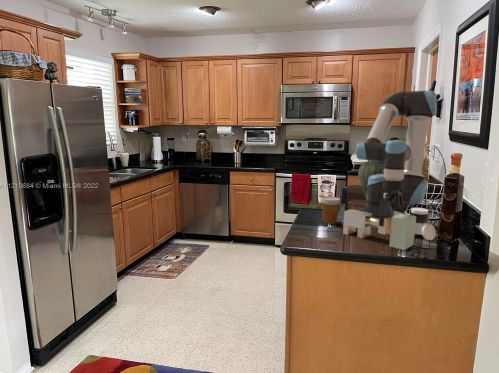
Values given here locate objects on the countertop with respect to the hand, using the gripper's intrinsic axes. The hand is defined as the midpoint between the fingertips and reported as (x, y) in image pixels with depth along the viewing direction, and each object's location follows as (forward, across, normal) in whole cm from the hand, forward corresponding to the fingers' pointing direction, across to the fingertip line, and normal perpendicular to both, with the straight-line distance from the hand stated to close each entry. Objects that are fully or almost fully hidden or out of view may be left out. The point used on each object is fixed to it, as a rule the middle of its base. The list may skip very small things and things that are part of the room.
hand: (389, 230), depth 149 cm
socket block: (+5, 0, +6) cm, 8 cm away
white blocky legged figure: (+5, 0, -14) cm, 15 cm away
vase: (+5, -64, -38) cm, 74 cm away
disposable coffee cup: (+5, -8, -34) cm, 35 cm away
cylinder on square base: (+1, 0, -4) cm, 5 cm away
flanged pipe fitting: (+6, -18, +6) cm, 20 cm away
